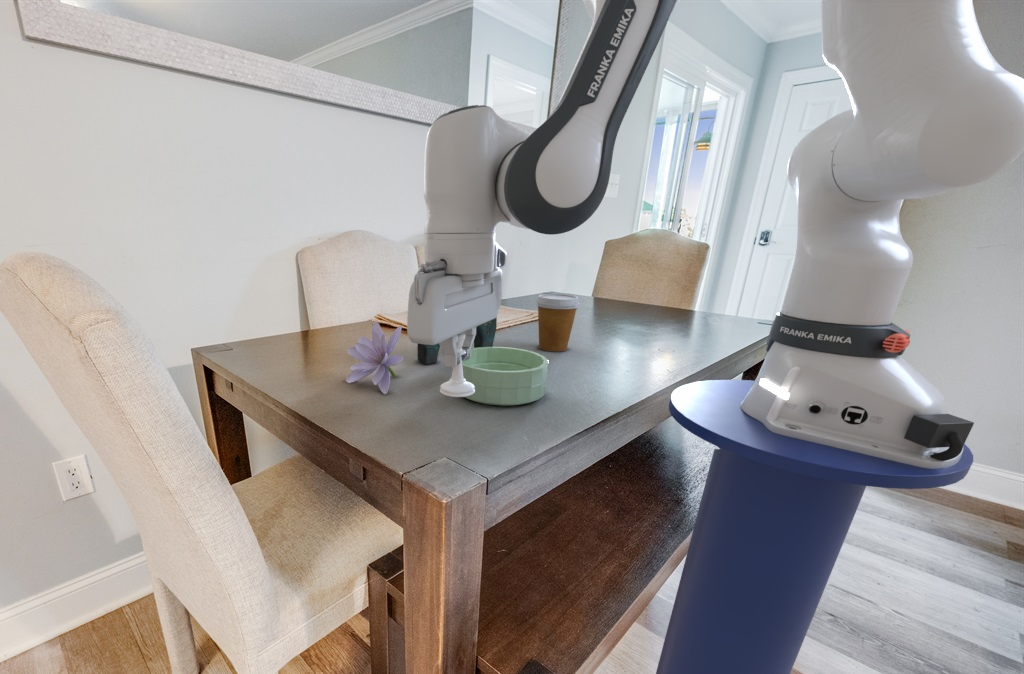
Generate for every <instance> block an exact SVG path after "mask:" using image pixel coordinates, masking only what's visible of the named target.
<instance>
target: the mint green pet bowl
mask: <svg viewBox="0 0 1024 674" xmlns="http://www.w3.org/2000/svg"><path fill="white" fill-rule="evenodd" d="M462 369H463V376H464V378H465V379H466V381H467V382H470V383H472V384H473V385H474V386H475V388H474V389H475V393H474V394H472V395H469V396H465V397H464V398H466V399H468V400H470V401H473V402H476V403H480V404H484V405H491V406H500V407H501V406H506V407H507V406H519V405H525V404H530V403H532V402H535V401H538V400H541V398H543V397H544V396H545V394H546V388H547V387H546V386H547V380H548V379H547V378H548V377H547V376H548V369H549V359H548V358H547V357H546V356H545V355H542V354H540V353H538V352H536V351H533V350H527V349H523V348H516V347H507V346H492V347H479V348H474V347H472V350H471V358H470V359H468V360H466V361H462Z"/></svg>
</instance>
